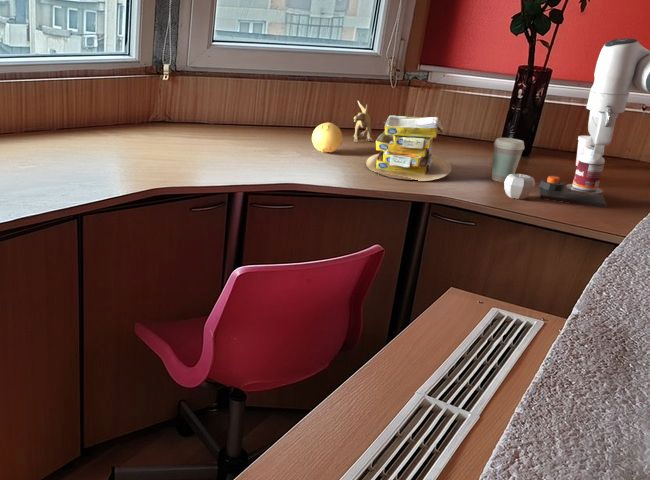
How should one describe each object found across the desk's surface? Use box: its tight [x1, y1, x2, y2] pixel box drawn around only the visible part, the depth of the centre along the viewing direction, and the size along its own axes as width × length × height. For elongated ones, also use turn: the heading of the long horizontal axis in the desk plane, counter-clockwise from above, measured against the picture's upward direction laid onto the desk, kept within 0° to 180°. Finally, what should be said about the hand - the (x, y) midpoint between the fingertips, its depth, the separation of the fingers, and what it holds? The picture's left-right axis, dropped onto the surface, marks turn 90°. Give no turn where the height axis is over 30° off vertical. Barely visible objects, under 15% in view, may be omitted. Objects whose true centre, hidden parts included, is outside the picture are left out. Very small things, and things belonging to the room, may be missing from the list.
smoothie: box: [575, 135, 591, 167], centre depth 233 cm, size 6×6×14 cm
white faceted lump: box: [503, 173, 536, 200], centre depth 196 cm, size 8×8×7 cm
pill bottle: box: [572, 147, 606, 191], centre depth 194 cm, size 6×6×11 cm
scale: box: [538, 178, 607, 209], centre depth 200 cm, size 16×14×3 cm
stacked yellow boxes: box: [365, 114, 452, 182], centre depth 217 cm, size 25×25×17 cm
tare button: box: [546, 175, 560, 184], centre depth 203 cm, size 3×3×2 cm
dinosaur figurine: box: [350, 100, 374, 143], centre depth 259 cm, size 8×26×13 cm, turn 165°
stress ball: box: [311, 122, 343, 153], centre depth 238 cm, size 10×10×10 cm
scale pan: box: [565, 183, 604, 195], centre depth 196 cm, size 9×9×1 cm
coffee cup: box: [491, 137, 525, 183], centre depth 213 cm, size 9×8×12 cm
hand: (594, 155), depth 192 cm, fingers open, 8 cm apart
